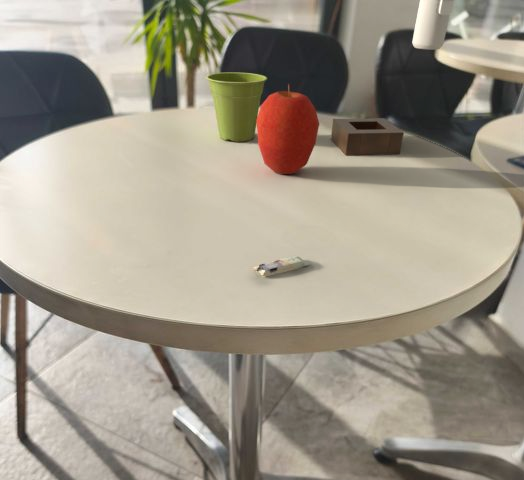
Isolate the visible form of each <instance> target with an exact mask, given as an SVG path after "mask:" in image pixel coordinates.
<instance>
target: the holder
mask: <svg viewBox="0 0 524 480" xmlns="http://www.w3.org/2000/svg"><path fill="white" fill-rule="evenodd" d="M404 133H405V132H404V131H402V129H400V128H399V127H397V126H395V125H394V124H393V123H391V122H390V121H389V120H387V119H386V118H385V117H373V118H371V117H369V118H365V117H364V118H333V119H332V125H331V135H330V140H331V141H332V142H333V143H334V144H335V146H336V147H337V148H338V149H339V150H340V151H341V152H342V153H343V154H344V155H345V156H374V155H376V156H377V155H378V156H379V155H380V156H381V155H400V154H401V150H402V144H403V138H404Z"/></svg>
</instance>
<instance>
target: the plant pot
mask: <svg viewBox="0 0 524 480" xmlns="http://www.w3.org/2000/svg"><path fill="white" fill-rule="evenodd" d="M205 79H206V80H207V81H208V83H209V88H210V93H211V95H212V99H213V105H214V112H215V117H216V123H217V128H218V134H219V138H220V139H222V140H224V141H227V140H228V141H229V140H230V141H232V142H236V143H240V142H248V141H251V140H252V139H254V138H255V134H256V130H257V121H256V120H257V117H258V114H259V111H260V104H261V98H262V95H263V91H264V86H265V82H266V81H267V80H268V77H267V76H266V75H263V74H258V73H252V72H234V71H232V72H231V71H229V72H216V73H210V74H207V75H206V76H205Z"/></svg>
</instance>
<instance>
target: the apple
mask: <svg viewBox="0 0 524 480" xmlns="http://www.w3.org/2000/svg"><path fill="white" fill-rule="evenodd" d="M287 88H288V89H287V90H280V91H276V92H273V93H271V94H269V95H268V96H267V98H266V99H265V100H264V101H263V102H262V103H261V105H260V107H259V110H258V117H257V120H256V121H257V123H256V132H257V133H256V135H257V145H258V148H259V151H260V155H261V157H262V161H263V163H264V165H266V167H268V168H269V169H270V170H271V171H272V172H273V173H275V174H280V175H292V174H295V173H297V172H299V171H300V170H301V169H302V168H304V167H305V166H306V165H307V164H308V163H309V159H310V157H311V155H312V153H313V150H314V148H315V146H316V143H317V139H318V133H319V127H320V120H319V116H318V113H317V109H316V108H315V106H314V105H313V103H312V101H311V99H309V97H308V96H307V95H305V94H303V93H299V92H294V91H290V90H291V89H290V84H288V85H287Z"/></svg>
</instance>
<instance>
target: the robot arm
mask: <svg viewBox="0 0 524 480" xmlns="http://www.w3.org/2000/svg"><path fill="white" fill-rule="evenodd" d="M454 2H455V0H438V3H437V9H436V13H437V14H439V15H449V14H450V15H451V13H452V10H453V6H454Z"/></svg>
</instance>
